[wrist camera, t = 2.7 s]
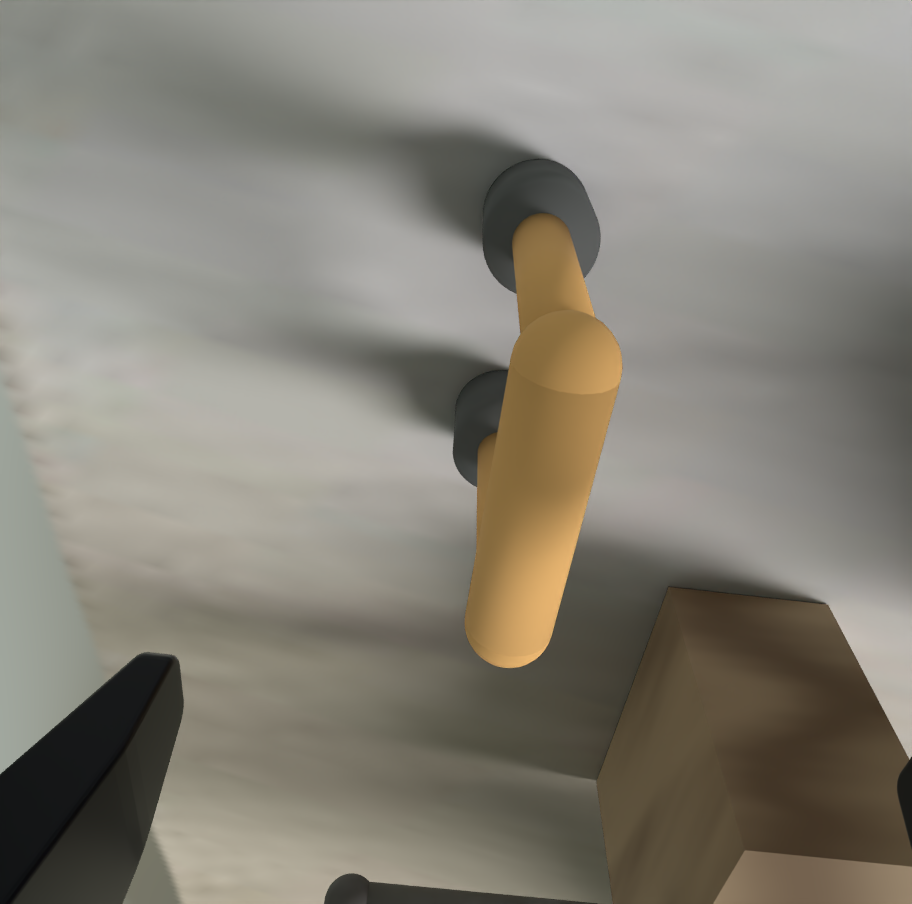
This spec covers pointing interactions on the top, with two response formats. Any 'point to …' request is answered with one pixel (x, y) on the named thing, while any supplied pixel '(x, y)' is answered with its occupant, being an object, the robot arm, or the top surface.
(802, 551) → the top surface
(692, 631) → the shelf
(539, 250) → the tan bar handle
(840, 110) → the top surface
